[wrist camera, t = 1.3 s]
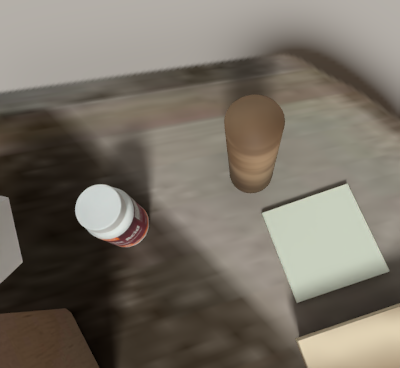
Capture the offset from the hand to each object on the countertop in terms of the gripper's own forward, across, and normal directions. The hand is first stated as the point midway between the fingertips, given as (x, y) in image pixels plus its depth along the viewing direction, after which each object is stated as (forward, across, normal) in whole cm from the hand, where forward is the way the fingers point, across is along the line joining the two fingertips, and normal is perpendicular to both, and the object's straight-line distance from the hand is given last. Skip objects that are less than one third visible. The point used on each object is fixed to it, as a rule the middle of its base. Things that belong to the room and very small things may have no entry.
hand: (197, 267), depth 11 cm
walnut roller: (+26, 0, -9) cm, 27 cm away
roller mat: (+22, +8, -13) cm, 27 cm away
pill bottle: (+21, -12, -14) cm, 28 cm away
